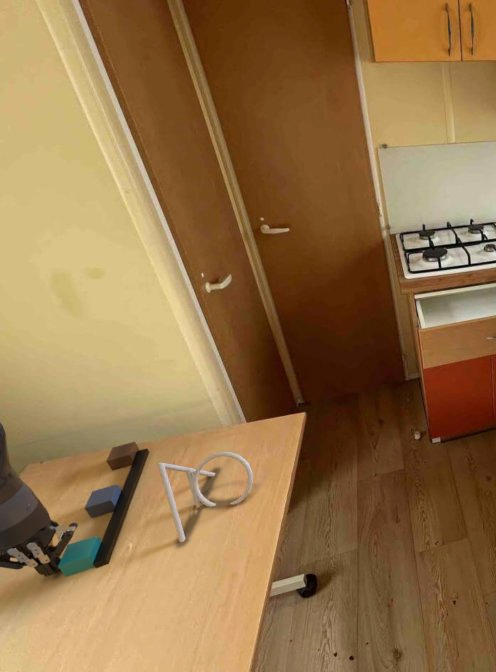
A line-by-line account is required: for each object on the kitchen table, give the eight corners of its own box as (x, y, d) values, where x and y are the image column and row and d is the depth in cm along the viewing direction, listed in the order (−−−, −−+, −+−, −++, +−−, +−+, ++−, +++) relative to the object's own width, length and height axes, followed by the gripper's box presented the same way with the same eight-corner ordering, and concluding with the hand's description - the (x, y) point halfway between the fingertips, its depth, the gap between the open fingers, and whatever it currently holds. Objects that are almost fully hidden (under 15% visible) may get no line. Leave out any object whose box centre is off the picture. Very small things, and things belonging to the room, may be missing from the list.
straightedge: (98, 571, 82) (92, 564, 81) (141, 457, 106) (137, 450, 105) (111, 567, 83) (105, 559, 82) (151, 455, 107) (147, 448, 106)
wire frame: (279, 492, 103) (245, 526, 87) (224, 510, 102) (180, 548, 86) (259, 422, 103) (221, 443, 88) (204, 439, 102) (156, 463, 86)
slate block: (93, 521, 91) (84, 508, 89) (101, 504, 95) (92, 491, 93) (119, 513, 93) (110, 500, 91) (126, 496, 97) (117, 483, 94)
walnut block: (114, 474, 102) (106, 461, 100) (120, 460, 106) (112, 447, 103) (137, 467, 104) (129, 454, 102) (142, 454, 107) (135, 441, 105)
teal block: (68, 580, 81) (57, 566, 79) (77, 558, 84) (67, 544, 82) (98, 570, 82) (88, 556, 80) (106, 549, 86) (97, 535, 84)
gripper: (66, 482, 78) (104, 539, 86) (-34, 508, 73) (16, 566, 81) (47, 516, 72) (90, 574, 80) (-63, 548, 67) (-6, 606, 75)
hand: (53, 570), depth 81 cm, fingers closed
